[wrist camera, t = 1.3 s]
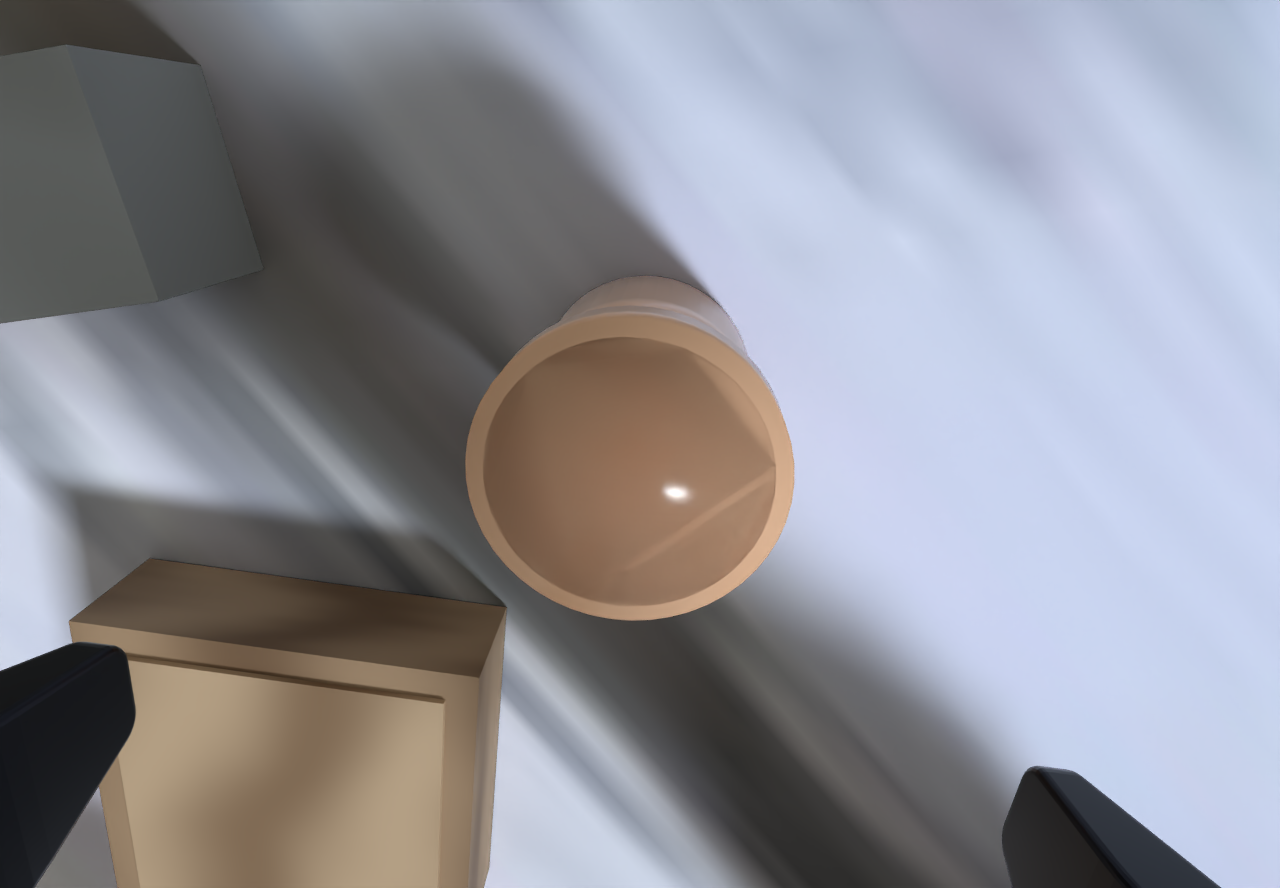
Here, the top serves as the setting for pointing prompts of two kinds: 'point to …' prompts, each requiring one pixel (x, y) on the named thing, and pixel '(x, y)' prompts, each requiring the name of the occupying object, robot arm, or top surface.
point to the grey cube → (112, 184)
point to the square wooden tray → (299, 732)
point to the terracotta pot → (632, 455)
